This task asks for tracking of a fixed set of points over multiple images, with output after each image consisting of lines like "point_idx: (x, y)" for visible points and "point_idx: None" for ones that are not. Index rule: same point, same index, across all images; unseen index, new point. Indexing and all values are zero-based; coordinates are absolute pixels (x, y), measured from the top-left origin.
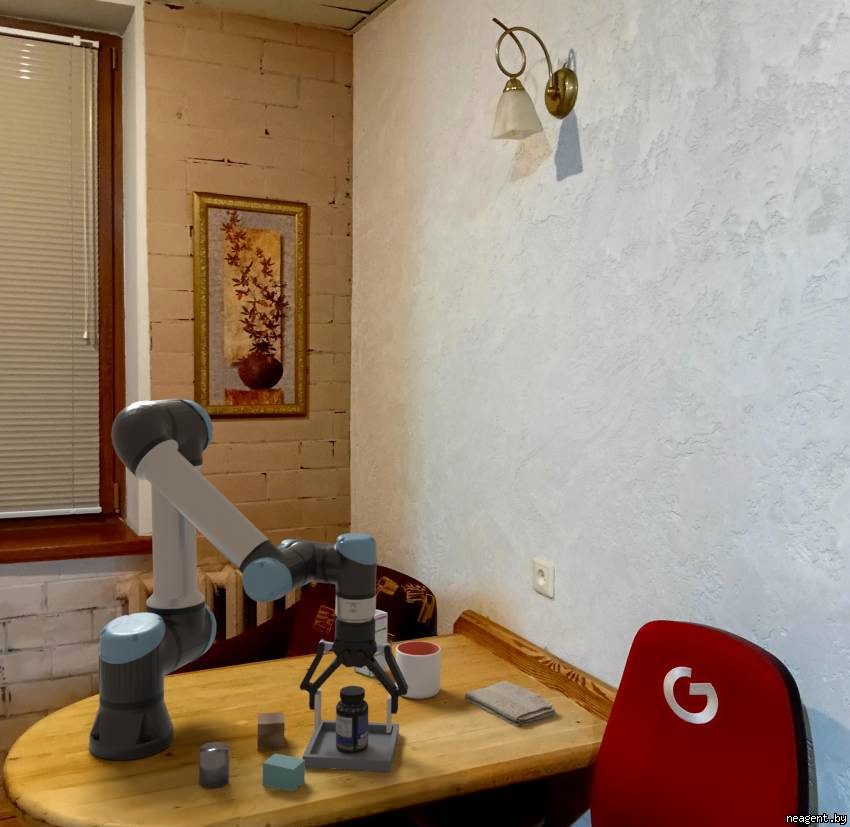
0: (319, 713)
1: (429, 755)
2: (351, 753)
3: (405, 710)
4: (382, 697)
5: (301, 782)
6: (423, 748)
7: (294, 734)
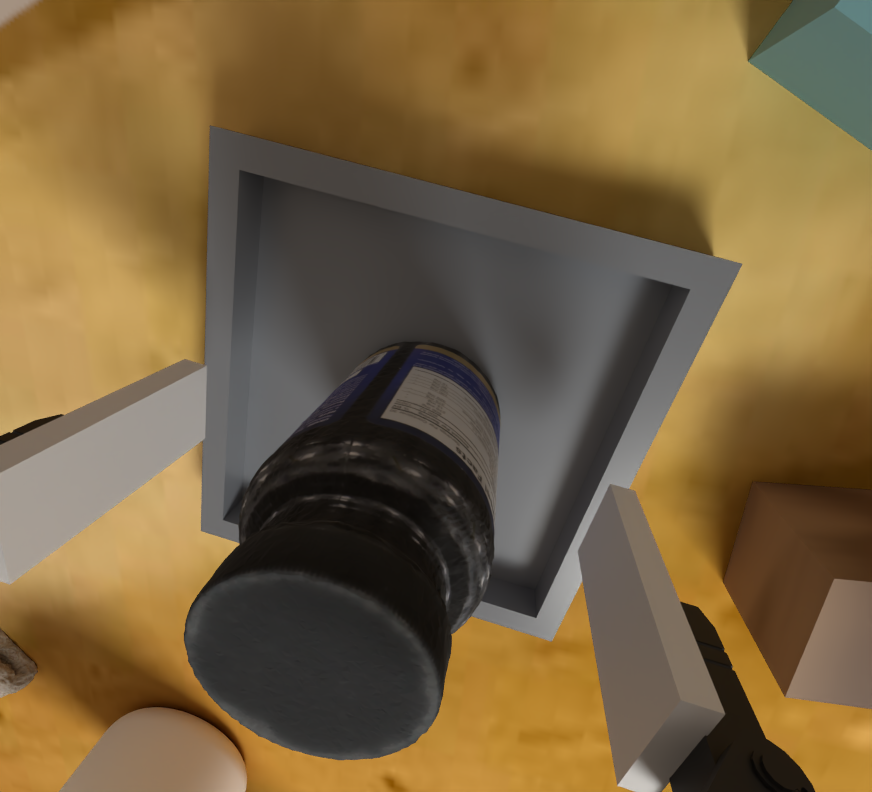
0: (612, 571)
1: (89, 296)
2: None
3: None
4: None
5: (784, 15)
6: (121, 365)
7: None
